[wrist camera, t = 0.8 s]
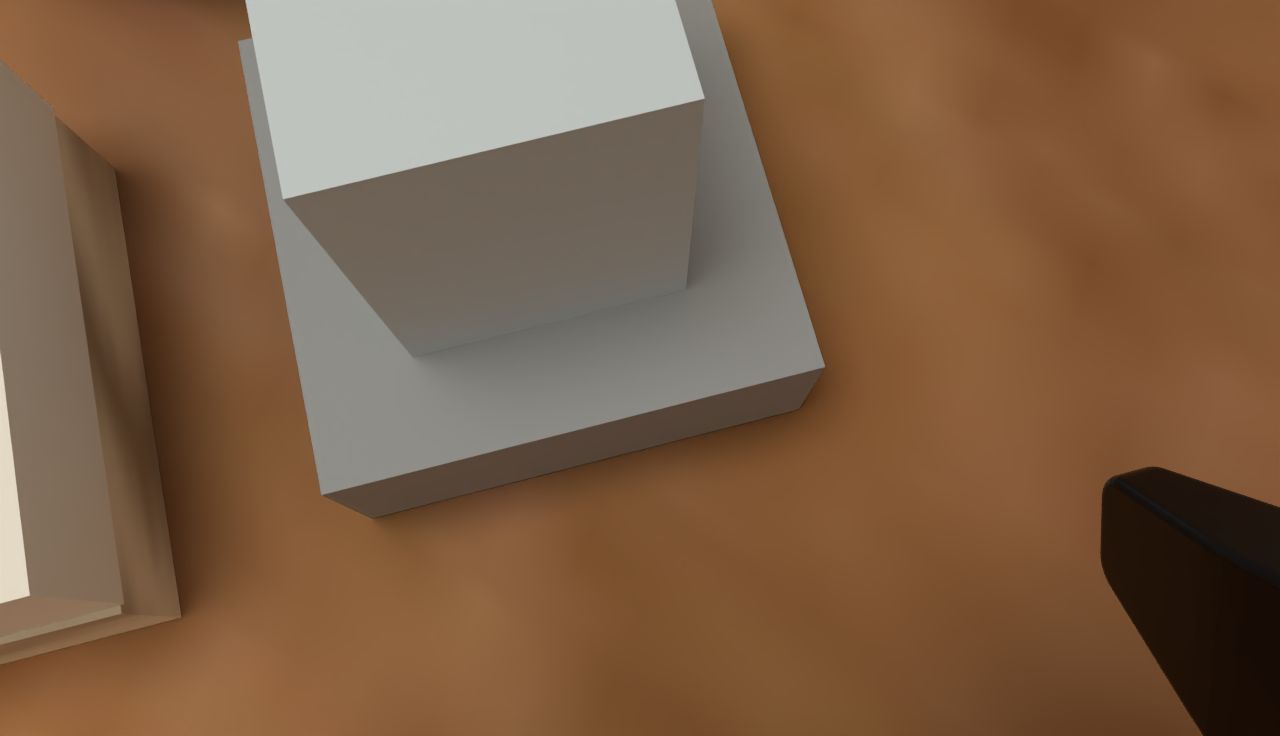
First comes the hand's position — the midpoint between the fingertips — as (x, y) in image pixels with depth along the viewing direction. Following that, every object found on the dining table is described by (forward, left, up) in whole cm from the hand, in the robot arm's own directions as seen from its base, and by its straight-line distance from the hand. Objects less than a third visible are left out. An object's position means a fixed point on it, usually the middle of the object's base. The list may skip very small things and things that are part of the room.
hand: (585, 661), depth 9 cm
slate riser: (+5, +6, -13) cm, 15 cm away
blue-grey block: (+5, +6, -10) cm, 13 cm away
